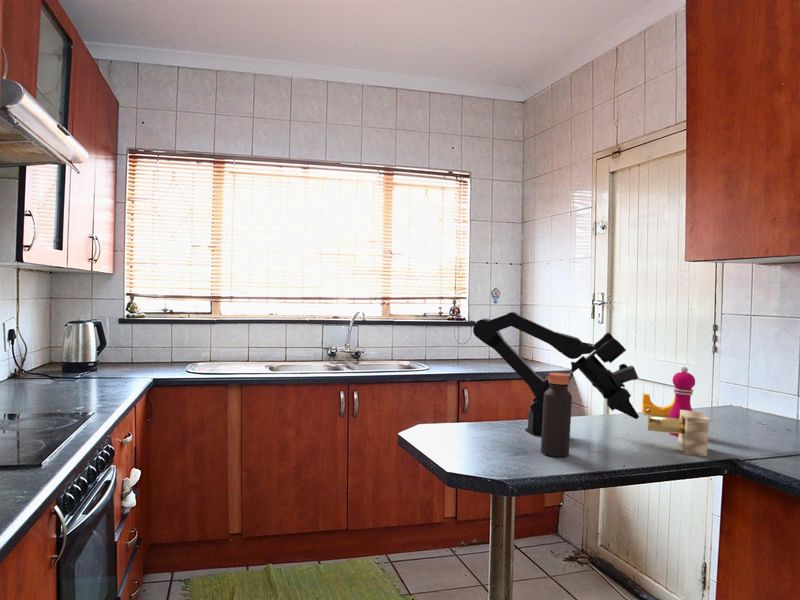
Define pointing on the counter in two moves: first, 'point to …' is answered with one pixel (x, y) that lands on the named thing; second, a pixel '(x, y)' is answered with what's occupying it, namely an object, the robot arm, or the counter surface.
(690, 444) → the beige lumpy block
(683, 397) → the pepper mill
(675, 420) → the tan wooden bar
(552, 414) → the bottle
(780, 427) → the counter surface
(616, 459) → the counter surface
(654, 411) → the pipe clamp
